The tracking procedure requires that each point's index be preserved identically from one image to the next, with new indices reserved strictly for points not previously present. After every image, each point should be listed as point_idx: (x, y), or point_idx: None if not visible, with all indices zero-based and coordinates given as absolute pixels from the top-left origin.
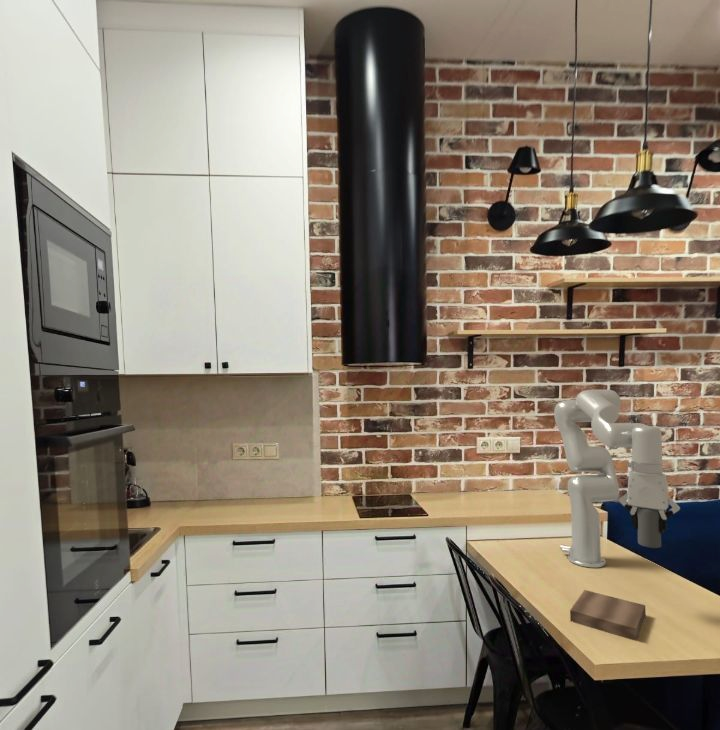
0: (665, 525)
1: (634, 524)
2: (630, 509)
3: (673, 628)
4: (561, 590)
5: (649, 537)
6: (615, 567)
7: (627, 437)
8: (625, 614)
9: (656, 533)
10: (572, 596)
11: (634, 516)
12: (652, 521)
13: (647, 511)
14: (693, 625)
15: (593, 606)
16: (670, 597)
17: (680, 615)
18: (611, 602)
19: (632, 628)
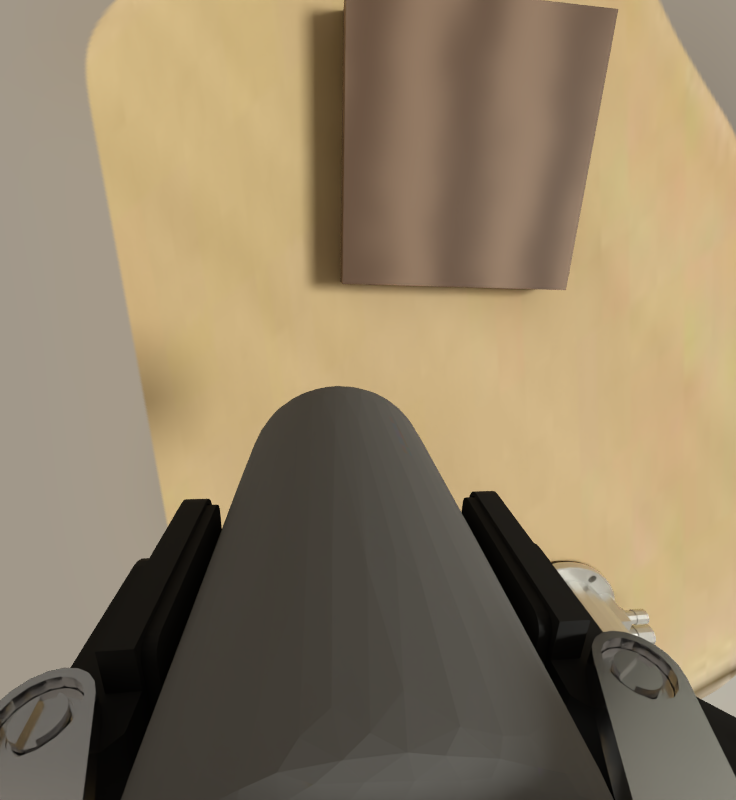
0: (115, 601)
1: (509, 519)
2: (712, 754)
3: (243, 233)
4: (623, 320)
5: (326, 416)
6: None
7: None
8: (401, 125)
9: (254, 472)
10: (585, 290)
11: (570, 606)
12: (273, 551)
13: (370, 734)
14: (190, 306)
15: (526, 128)
16: None
17: (239, 364)
18: (462, 224)
19: None
